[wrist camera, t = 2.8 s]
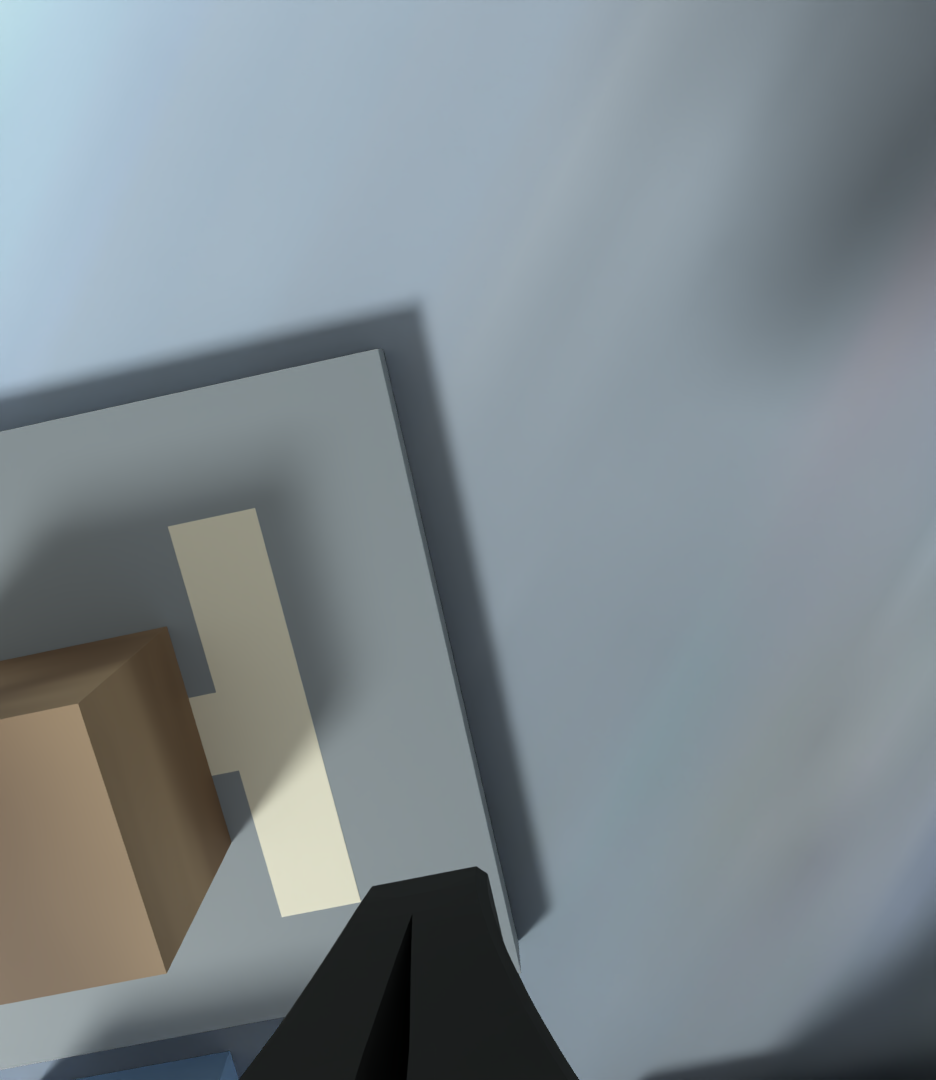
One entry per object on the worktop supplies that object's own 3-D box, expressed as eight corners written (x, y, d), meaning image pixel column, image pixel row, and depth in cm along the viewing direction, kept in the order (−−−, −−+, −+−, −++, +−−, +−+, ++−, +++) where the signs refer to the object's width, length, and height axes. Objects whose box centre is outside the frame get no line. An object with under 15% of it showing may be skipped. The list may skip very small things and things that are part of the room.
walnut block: (166, 626, 17) (77, 703, 13) (231, 842, 18) (166, 973, 14) (-65, 674, 17) (-221, 764, 13) (11, 885, 18) (-113, 1026, 14)
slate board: (382, 349, 17) (377, 348, 16) (518, 942, 20) (521, 973, 19) (-354, 512, 18) (-403, 520, 17) (-123, 1063, 20) (-154, 1098, 19)
